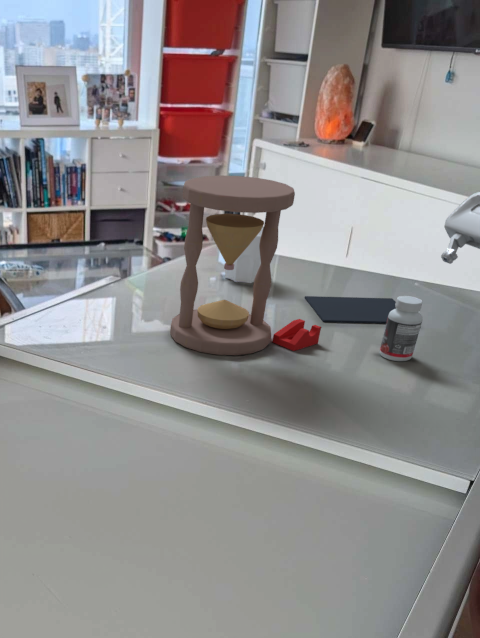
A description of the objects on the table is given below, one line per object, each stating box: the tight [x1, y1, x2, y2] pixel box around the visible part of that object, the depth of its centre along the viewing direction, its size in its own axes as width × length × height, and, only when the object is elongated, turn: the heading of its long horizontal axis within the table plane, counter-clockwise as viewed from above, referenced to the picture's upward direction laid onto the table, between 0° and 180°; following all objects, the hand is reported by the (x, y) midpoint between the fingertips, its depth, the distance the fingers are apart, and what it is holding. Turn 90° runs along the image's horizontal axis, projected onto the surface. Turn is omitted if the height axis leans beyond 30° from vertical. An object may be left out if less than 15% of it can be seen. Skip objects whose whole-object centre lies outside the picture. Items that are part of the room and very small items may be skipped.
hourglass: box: [169, 175, 296, 356], centre depth 127 cm, size 18×18×25 cm
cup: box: [224, 225, 264, 284], centre depth 161 cm, size 10×10×10 cm
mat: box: [304, 295, 396, 325], centre depth 148 cm, size 18×14×1 cm
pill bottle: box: [379, 295, 423, 362], centre depth 126 cm, size 5×5×10 cm
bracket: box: [272, 318, 322, 352], centre depth 132 cm, size 6×5×3 cm
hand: (465, 268), depth 124 cm, fingers open, 8 cm apart
